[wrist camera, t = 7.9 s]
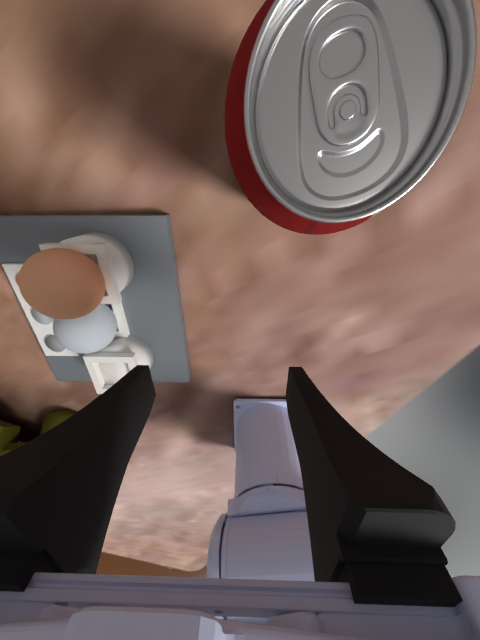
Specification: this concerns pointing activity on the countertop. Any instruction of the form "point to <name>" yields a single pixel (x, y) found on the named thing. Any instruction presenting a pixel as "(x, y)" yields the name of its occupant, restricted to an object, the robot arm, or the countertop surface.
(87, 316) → the grey ball
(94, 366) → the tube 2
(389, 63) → the soda can
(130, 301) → the slate board
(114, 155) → the countertop surface
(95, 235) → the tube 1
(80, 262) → the terracotta ball
